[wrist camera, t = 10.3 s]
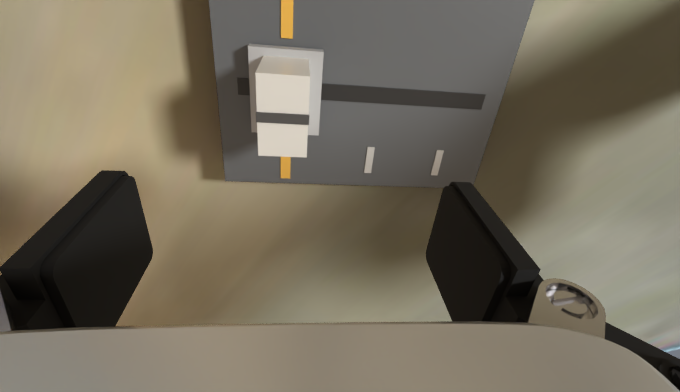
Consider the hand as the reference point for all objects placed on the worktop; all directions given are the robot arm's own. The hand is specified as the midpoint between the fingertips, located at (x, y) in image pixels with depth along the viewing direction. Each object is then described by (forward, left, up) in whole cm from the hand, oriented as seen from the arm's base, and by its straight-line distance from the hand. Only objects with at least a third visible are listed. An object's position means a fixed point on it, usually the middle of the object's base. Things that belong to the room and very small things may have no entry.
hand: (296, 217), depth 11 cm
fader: (+1, +1, -17) cm, 17 cm away
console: (-5, +1, -21) cm, 21 cm away
